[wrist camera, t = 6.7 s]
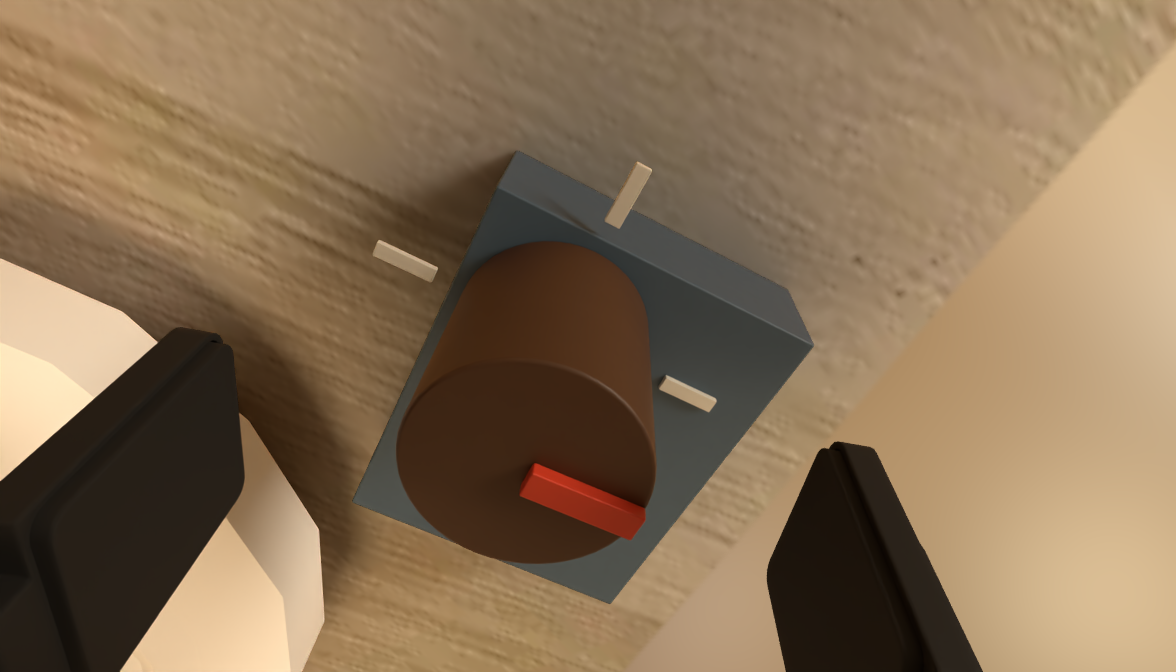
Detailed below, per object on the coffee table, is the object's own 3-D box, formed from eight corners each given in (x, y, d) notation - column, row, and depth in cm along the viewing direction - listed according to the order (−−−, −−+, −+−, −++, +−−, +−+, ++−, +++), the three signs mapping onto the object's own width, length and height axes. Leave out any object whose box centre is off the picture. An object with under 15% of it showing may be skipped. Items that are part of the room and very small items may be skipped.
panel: (477, 42, 16) (446, 61, 13) (830, 233, 18) (868, 285, 15) (328, 412, 21) (284, 481, 19) (612, 530, 23) (610, 609, 20)
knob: (430, 363, 17) (355, 522, 12) (501, 205, 15) (443, 323, 10) (594, 434, 17) (583, 609, 13) (684, 293, 15) (708, 440, 11)
